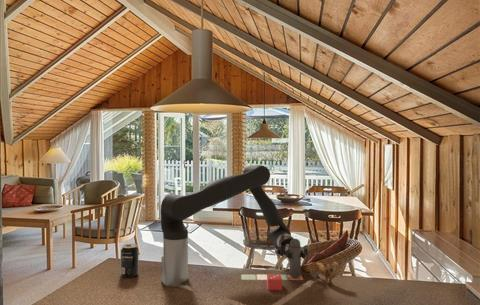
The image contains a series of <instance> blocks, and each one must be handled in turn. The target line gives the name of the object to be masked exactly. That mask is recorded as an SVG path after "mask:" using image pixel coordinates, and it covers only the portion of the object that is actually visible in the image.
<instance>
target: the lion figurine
mask: <svg viewBox="0 0 480 305" xmlns="http://www.w3.org/2000/svg"><path fill="white" fill-rule="evenodd" d="M313 269H314V270H313V272H312V275H314V281H315V282H317V281H319V280H318V279H319V278H320V276H319V274H320V275H321V276H324V279H325V286H326V287H329V286H330V285H331V286H332V285H334V283H333V282H332V281H333V279H335V278H336V277H337V276H339V274H340V273H341V272H342V269H343V268H342V267H341V266H340V265H339V263H338V262H336V261H334V262H330V263H327V264H325V265H324V264H323V263H322V262H316V263H315V265H314V268H313Z"/></svg>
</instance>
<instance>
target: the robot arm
mask: <svg viewBox="0 0 480 305" xmlns="http://www.w3.org/2000/svg"><path fill="white" fill-rule="evenodd" d="M270 178H271V171H270V169H269V168H268V167H266V165H265V166H264V165H262V164H258V165H257V164H256V165H255V164H254V165H248V166H245V168H244V169H243V171H242V173H239V174H234V175H229V176H228V175H227V176H224V177H220V178H217V179H215V180H213V181H210V182H209V183H207V184H206V185H205V186H204V187H203V188H202V189H201V190H198V191H196V192H194V193H191V194H186V195H180V194H175V193H174V194H173V193H172V194H171V193H170V194H168V195H166V196H165V197H164V198H163V199H162V201H161V205H160V226H161V227H160V229H161V231H162V237H163V238H162V240H163V242H162V243H163V244H162V245H163V246H162V250H163V251H162V256H161V263H160V264H161V266H160V267H161V276H160V277H161V279H160V280H161V283H163V285H164V286H167V287H173V288H174V287H181V286H184V285H186V284H185V283H184V282H186V281H188V278H189V277H188V276H189V273H188V272H189V231H188V230H189V229H188V228H187V227H186V225H185V224H184V220H186V219H189V218H190V217H192V216H194V215H195V214H198V213H199V212H202V210H204V209H207V208H211V207H212V206H214V205H217V204H220V203H222V202H225V201H227V200H229V199H232V198H234V197H236V196H237V195H240V194H243V193H244V192H247V191H248V190H249V191H250V192H251V194H252V196H253V197H254V200H255V201H256V203H257V204H258V206H259V209H260V210H261V212H262V216H263V218H264V220H265V223H266V225H267V226H269V227H274V228H273V229H271V230H269V231H268V233H267V236H268V237H267V239H268V240H269V242H270V243H271V244H272V245H274V253H275V254H276V255H278V256H280V257H286V258H288V260H289V259H291V253H290V251H289V246H290V241H291V240H292V239H295V238H294V237H293V236H292V234H291V230H290V228H289V227H288V226H287V225H286V223H285V222H284V221H283V219H282V217H281V216H280V213H279V210H278V208H277V205H276V204H275V202H274V201H273V200H272V198H270V196H269V195H268V194H267V193H266V191H265V190H264V188H263V187H262V186H265V185H266V184H267V183H268V182H269V181H270ZM308 247H309V246H308V245H306V244H305V245H304V246H301V259H305V258H306V257H307V256H308V250H309V248H308Z"/></svg>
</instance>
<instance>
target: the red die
mask: <svg viewBox="0 0 480 305" xmlns="http://www.w3.org/2000/svg"><path fill="white" fill-rule="evenodd" d="M266 275H267V280H266V288H267V291H283V280H282V277H281V275H282V274H266Z"/></svg>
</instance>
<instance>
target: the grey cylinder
mask: <svg viewBox="0 0 480 305" xmlns="http://www.w3.org/2000/svg"><path fill="white" fill-rule="evenodd" d="M301 247H302V246H301V241H300V240H299V239H297V238H294V239H292V240H291V241H290V246H289V251H290V253H291V259H289V258H288V260H289V261H288V269H289V270H288V271H289V272H288V275H290V276H292V277H299V276H302V270H301V269H302V266H301V265H302V257H301Z"/></svg>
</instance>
